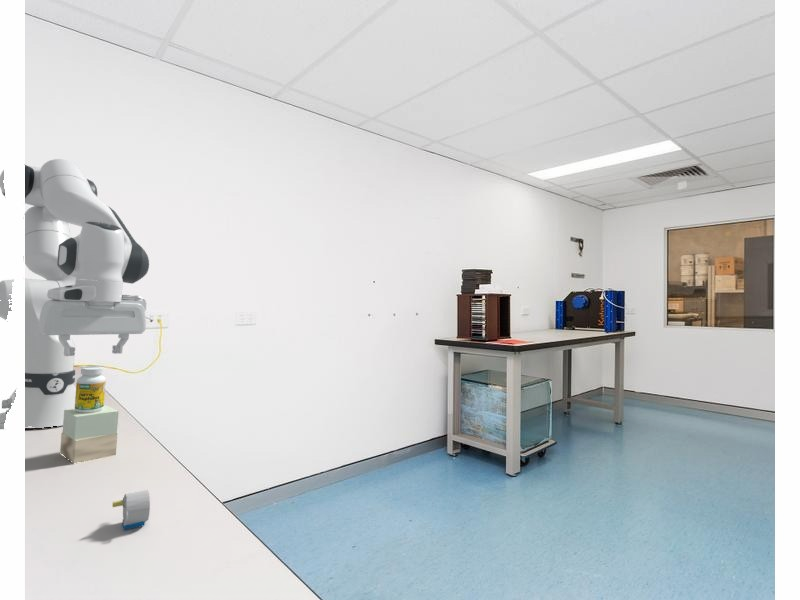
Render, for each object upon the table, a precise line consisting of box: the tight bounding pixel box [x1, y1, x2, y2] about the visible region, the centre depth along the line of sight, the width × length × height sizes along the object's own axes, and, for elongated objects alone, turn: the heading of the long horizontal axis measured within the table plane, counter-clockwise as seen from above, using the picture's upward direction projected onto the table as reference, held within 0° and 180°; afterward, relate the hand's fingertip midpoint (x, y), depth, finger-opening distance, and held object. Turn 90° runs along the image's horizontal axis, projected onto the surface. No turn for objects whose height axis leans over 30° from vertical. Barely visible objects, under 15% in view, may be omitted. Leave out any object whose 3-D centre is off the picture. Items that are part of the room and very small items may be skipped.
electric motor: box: [112, 490, 151, 531], centre depth 69 cm, size 7×5×5 cm
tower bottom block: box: [59, 432, 118, 464], centre depth 97 cm, size 8×8×5 cm
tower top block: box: [62, 404, 119, 440], centre depth 97 cm, size 8×8×5 cm
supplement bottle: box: [75, 365, 107, 413], centre depth 97 cm, size 5×5×10 cm
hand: (94, 354), depth 98 cm, fingers open, 8 cm apart
